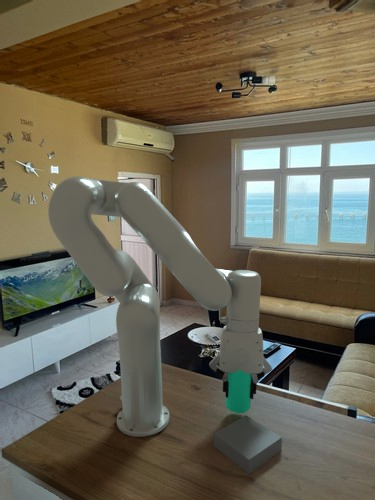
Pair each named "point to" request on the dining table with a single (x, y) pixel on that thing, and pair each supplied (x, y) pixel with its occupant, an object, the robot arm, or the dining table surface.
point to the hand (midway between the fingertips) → (239, 394)
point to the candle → (239, 392)
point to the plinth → (247, 443)
